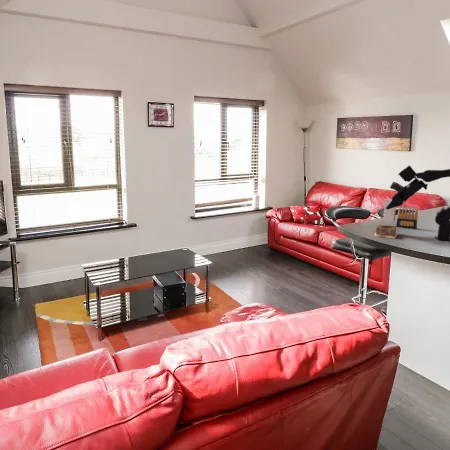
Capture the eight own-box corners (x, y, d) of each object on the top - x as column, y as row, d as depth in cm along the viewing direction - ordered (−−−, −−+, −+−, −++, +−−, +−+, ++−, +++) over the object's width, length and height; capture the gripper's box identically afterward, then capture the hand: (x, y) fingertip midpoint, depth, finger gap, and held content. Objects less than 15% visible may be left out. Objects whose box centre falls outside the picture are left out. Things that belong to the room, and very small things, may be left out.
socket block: (397, 234, 225) (398, 226, 224) (394, 238, 217) (395, 230, 216) (377, 232, 230) (378, 224, 229) (374, 236, 221) (374, 227, 220)
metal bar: (394, 220, 228) (396, 199, 225) (393, 222, 223) (395, 201, 221) (384, 219, 230) (386, 199, 228) (383, 221, 226) (384, 200, 224)
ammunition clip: (396, 227, 244) (398, 206, 241) (396, 226, 245) (398, 205, 243) (416, 229, 239) (418, 207, 236) (416, 228, 241) (418, 207, 238)
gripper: (403, 175, 228) (380, 194, 236) (398, 178, 212) (373, 198, 220) (418, 191, 226) (394, 209, 233) (413, 195, 210) (388, 215, 217)
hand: (387, 208), depth 226 cm, fingers closed on metal bar, 5 cm apart
